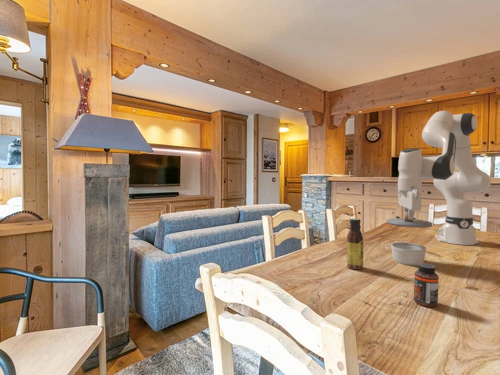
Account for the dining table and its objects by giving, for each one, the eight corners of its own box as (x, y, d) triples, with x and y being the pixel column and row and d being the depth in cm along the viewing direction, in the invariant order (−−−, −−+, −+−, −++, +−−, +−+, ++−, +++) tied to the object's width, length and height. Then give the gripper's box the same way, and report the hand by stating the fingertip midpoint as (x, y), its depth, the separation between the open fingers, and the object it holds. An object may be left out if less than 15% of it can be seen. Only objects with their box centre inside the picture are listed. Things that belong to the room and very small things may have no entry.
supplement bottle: (409, 298, 83) (410, 262, 82) (427, 298, 83) (428, 261, 83) (423, 308, 77) (424, 269, 76) (442, 307, 77) (444, 268, 77)
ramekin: (413, 268, 109) (413, 251, 109) (383, 259, 121) (384, 244, 121) (432, 263, 116) (432, 247, 115) (402, 255, 127) (403, 240, 127)
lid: (383, 219, 128) (383, 209, 128) (424, 221, 124) (424, 210, 123) (391, 226, 112) (391, 214, 111) (439, 228, 107) (439, 215, 107)
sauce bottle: (364, 270, 107) (365, 220, 106) (347, 269, 108) (348, 220, 107) (361, 265, 113) (362, 218, 113) (345, 264, 115) (346, 217, 114)
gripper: (426, 187, 106) (425, 222, 107) (410, 185, 126) (409, 215, 126) (408, 187, 108) (407, 222, 108) (395, 185, 127) (394, 214, 128)
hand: (408, 218), depth 117 cm, fingers closed on lid, 3 cm apart
